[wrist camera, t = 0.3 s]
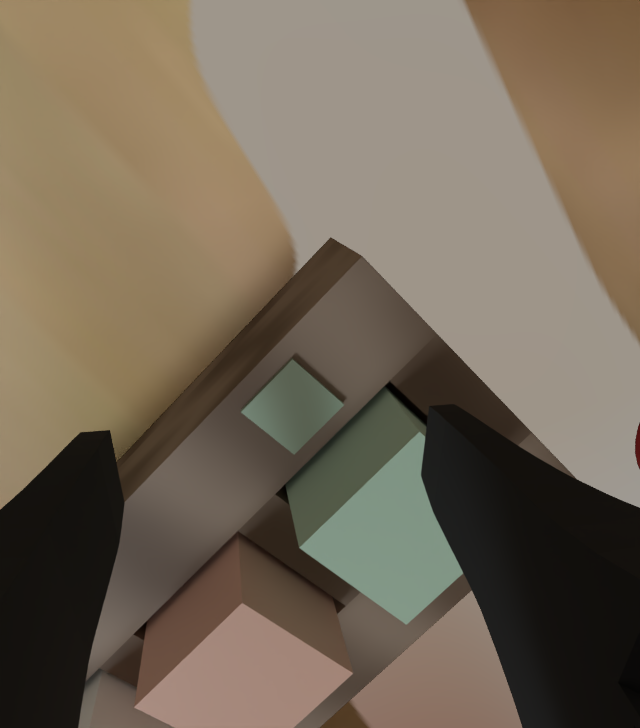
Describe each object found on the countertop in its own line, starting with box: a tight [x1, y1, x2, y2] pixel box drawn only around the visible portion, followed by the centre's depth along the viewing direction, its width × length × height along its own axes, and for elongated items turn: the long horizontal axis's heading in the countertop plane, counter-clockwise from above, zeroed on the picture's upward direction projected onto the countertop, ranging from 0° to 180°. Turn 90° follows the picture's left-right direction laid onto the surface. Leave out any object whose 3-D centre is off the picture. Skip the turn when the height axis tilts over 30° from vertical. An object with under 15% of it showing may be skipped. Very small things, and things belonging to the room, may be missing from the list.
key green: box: [285, 386, 463, 625], centre depth 19 cm, size 5×5×4 cm
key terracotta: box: [134, 531, 353, 728], centre depth 20 cm, size 5×5×4 cm
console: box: [86, 238, 576, 728], centre depth 23 cm, size 25×13×5 cm, turn 135°
